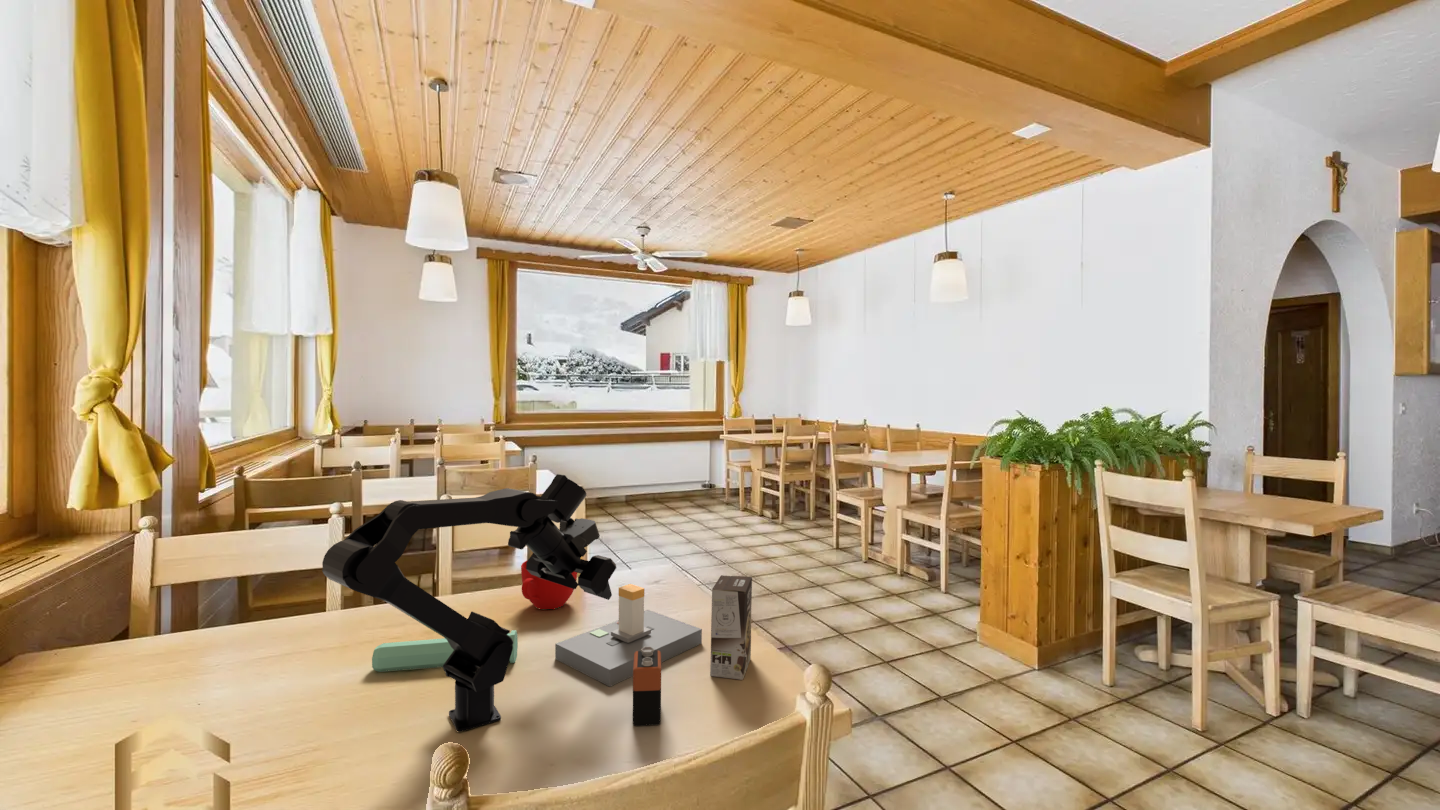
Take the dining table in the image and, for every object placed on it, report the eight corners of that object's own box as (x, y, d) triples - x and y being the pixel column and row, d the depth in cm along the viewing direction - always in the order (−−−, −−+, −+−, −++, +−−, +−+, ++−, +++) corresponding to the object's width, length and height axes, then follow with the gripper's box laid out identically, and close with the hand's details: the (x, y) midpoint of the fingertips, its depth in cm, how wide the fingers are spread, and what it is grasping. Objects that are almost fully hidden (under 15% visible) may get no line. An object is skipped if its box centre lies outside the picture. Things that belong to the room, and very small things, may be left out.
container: (368, 641, 111) (514, 629, 116) (379, 641, 116) (518, 630, 121) (364, 677, 109) (513, 664, 114) (376, 675, 114) (517, 662, 119)
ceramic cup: (498, 617, 138) (498, 573, 138) (541, 593, 154) (541, 553, 154) (549, 625, 134) (549, 579, 134) (587, 599, 150) (588, 558, 150)
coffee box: (744, 680, 111) (745, 591, 110) (709, 676, 112) (710, 588, 111) (751, 658, 119) (753, 576, 119) (719, 655, 121) (720, 573, 120)
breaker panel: (609, 686, 108) (609, 668, 107) (555, 659, 118) (555, 642, 118) (701, 643, 126) (701, 628, 126) (647, 622, 136) (647, 608, 136)
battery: (660, 703, 102) (660, 644, 102) (660, 726, 96) (661, 662, 95) (633, 704, 102) (634, 644, 102) (632, 727, 95) (632, 663, 95)
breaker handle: (627, 642, 118) (628, 594, 118) (610, 635, 121) (611, 588, 121) (650, 633, 122) (651, 587, 122) (633, 626, 126) (634, 581, 125)
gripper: (611, 513, 107) (651, 565, 116) (541, 500, 118) (583, 548, 127) (573, 567, 100) (619, 618, 109) (504, 547, 111) (550, 595, 120)
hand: (592, 592), depth 116 cm, fingers open, 9 cm apart
